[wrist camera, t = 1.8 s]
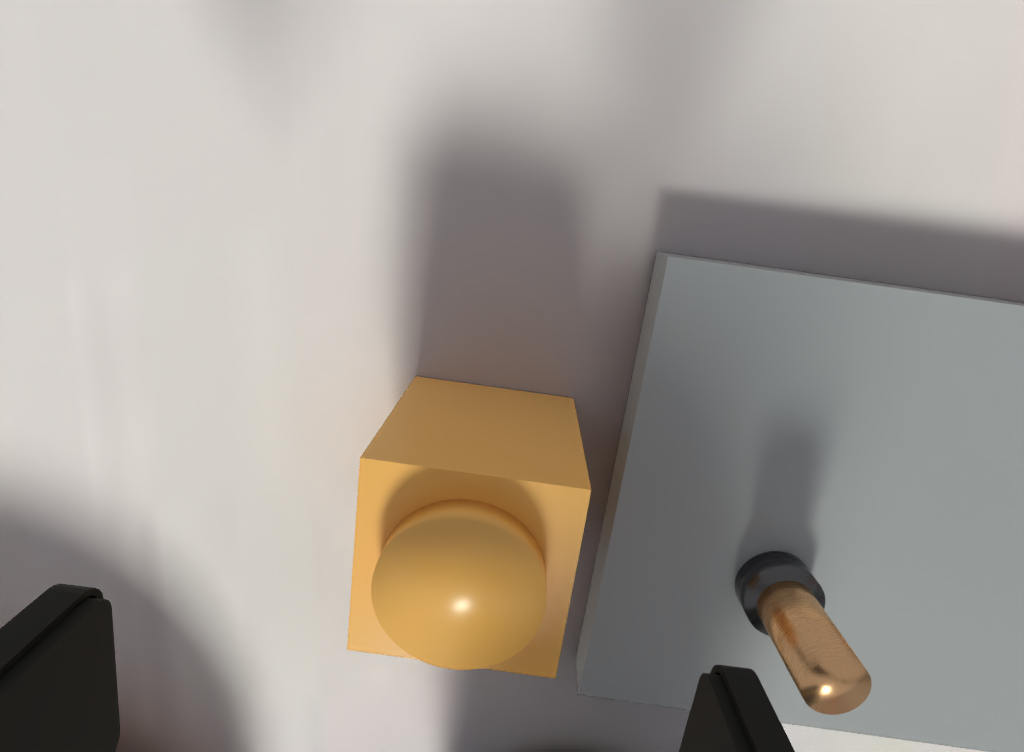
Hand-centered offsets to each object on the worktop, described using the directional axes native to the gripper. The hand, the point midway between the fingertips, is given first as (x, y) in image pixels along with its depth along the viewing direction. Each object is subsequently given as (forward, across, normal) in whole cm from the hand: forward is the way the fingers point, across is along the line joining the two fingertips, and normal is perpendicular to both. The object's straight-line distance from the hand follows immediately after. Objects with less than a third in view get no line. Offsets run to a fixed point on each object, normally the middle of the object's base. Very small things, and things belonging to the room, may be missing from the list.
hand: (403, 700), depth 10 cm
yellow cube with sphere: (+10, -1, 0) cm, 10 cm away
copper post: (+9, -10, +2) cm, 14 cm away
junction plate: (+9, -15, 0) cm, 17 cm away
